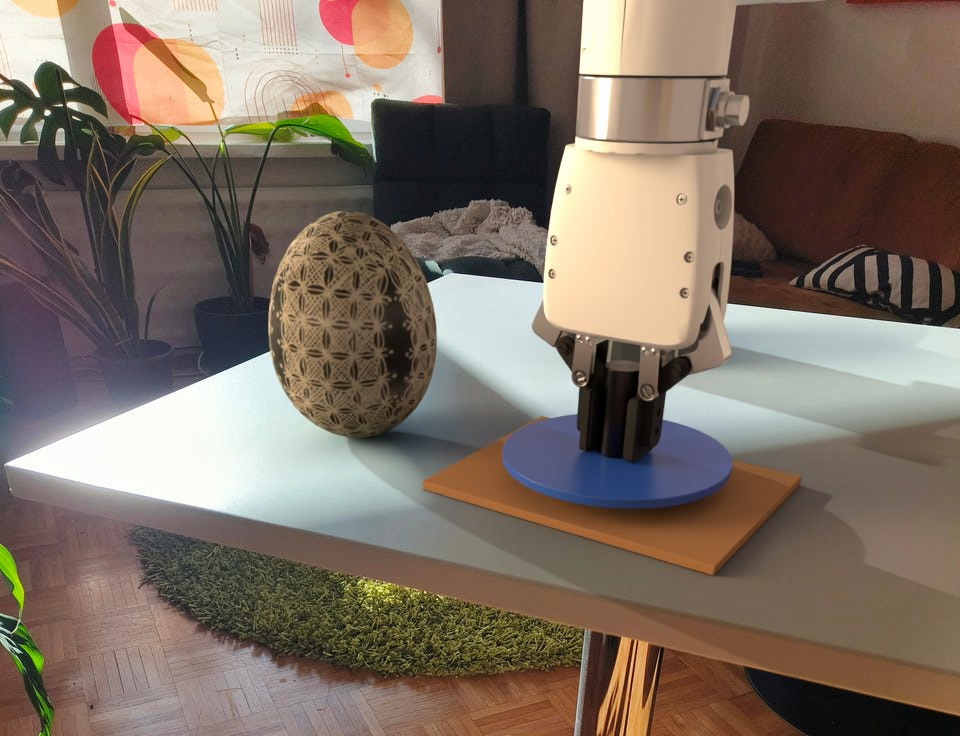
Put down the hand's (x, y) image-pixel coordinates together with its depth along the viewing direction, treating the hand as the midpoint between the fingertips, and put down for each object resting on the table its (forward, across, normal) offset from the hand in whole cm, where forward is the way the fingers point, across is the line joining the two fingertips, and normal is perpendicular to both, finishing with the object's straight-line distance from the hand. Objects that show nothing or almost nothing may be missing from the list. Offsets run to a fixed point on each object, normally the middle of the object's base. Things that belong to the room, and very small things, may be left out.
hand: (616, 447), depth 57 cm
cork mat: (+3, 0, 0) cm, 3 cm away
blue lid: (+1, 0, 0) cm, 1 cm away
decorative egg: (+3, +20, +2) cm, 20 cm away
